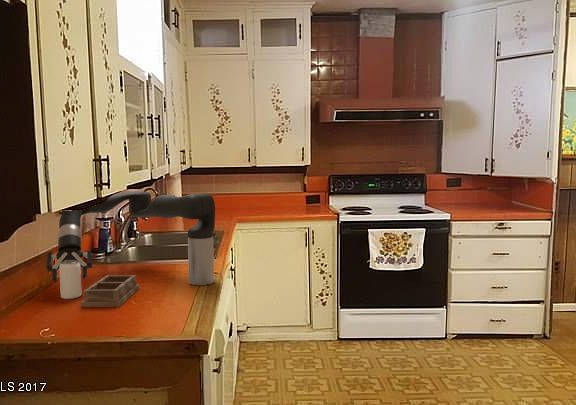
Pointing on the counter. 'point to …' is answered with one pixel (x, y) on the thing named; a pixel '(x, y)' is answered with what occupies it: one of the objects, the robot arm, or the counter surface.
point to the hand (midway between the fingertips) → (69, 279)
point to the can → (70, 279)
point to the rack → (110, 291)
